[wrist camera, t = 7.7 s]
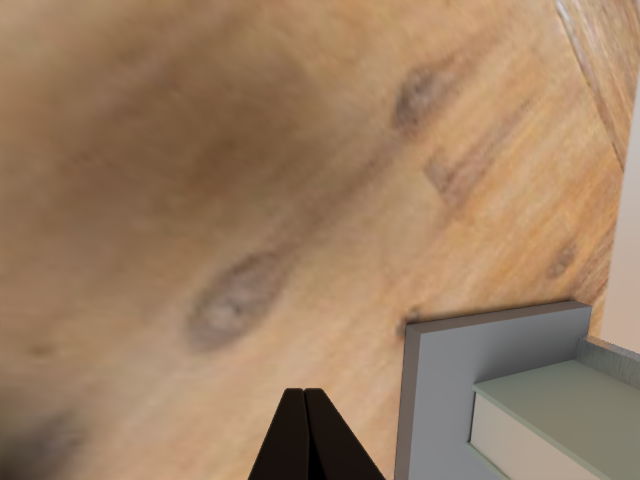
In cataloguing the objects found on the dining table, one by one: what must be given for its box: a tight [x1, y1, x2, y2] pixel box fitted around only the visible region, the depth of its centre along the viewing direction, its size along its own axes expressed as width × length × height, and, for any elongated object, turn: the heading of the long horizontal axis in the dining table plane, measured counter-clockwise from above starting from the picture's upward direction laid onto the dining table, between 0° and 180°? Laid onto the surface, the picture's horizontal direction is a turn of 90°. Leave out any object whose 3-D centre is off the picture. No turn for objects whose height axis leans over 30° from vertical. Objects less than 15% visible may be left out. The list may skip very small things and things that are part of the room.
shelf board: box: [394, 300, 592, 480], centre depth 28 cm, size 18×14×2 cm
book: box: [466, 360, 640, 480], centre depth 22 cm, size 11×5×12 cm, turn 88°
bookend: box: [573, 335, 640, 390], centre depth 26 cm, size 2×9×8 cm, turn 178°
